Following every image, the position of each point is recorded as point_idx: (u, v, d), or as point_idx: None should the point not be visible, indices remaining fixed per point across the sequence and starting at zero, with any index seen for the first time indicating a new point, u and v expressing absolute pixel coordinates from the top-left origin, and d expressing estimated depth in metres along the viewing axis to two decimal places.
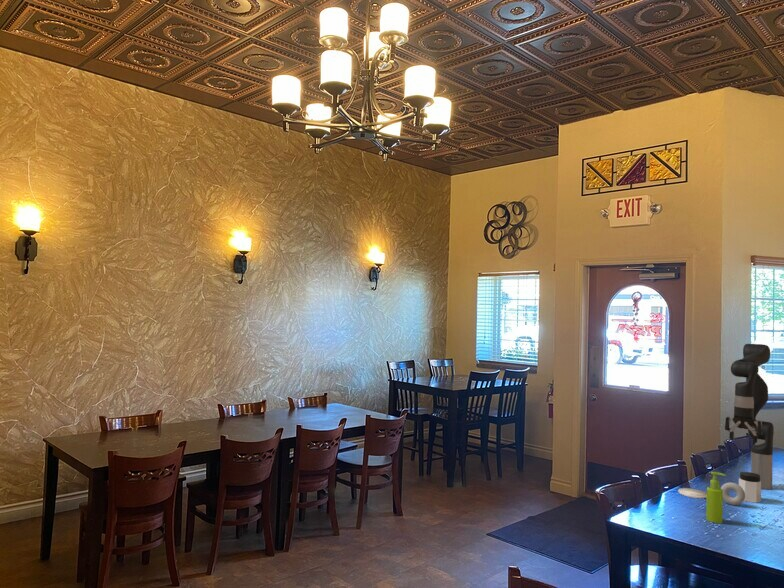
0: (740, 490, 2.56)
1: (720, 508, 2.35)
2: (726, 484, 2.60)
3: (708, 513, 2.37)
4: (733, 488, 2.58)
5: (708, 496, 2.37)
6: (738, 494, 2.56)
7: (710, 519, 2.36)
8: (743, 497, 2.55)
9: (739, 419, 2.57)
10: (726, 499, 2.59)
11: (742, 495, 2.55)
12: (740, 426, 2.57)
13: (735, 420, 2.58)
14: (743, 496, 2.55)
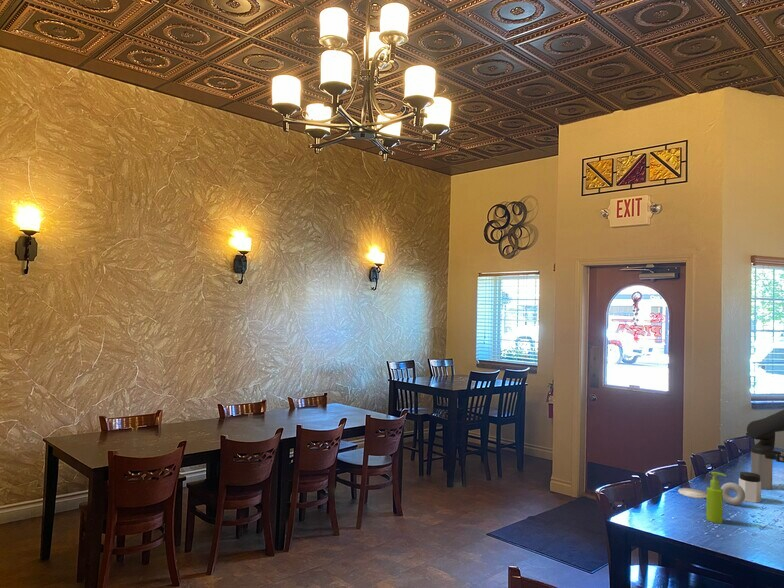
0: (740, 490, 2.56)
1: (720, 508, 2.35)
2: (726, 484, 2.60)
3: (708, 513, 2.37)
4: (733, 488, 2.58)
5: (708, 496, 2.37)
6: (738, 494, 2.56)
7: (710, 519, 2.36)
8: (743, 497, 2.55)
9: None
10: (726, 499, 2.59)
11: (742, 495, 2.55)
12: None
13: None
14: (743, 496, 2.55)
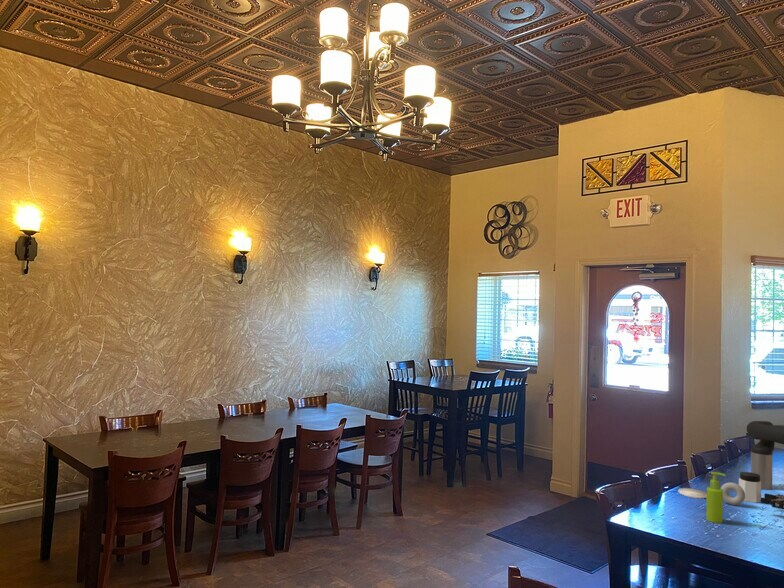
0: (740, 490, 2.56)
1: (720, 508, 2.35)
2: (726, 484, 2.60)
3: (708, 513, 2.37)
4: (733, 488, 2.58)
5: (708, 496, 2.37)
6: (738, 494, 2.56)
7: (710, 519, 2.36)
8: (743, 497, 2.55)
9: None
10: (726, 499, 2.59)
11: (742, 495, 2.55)
12: None
13: None
14: (743, 496, 2.55)
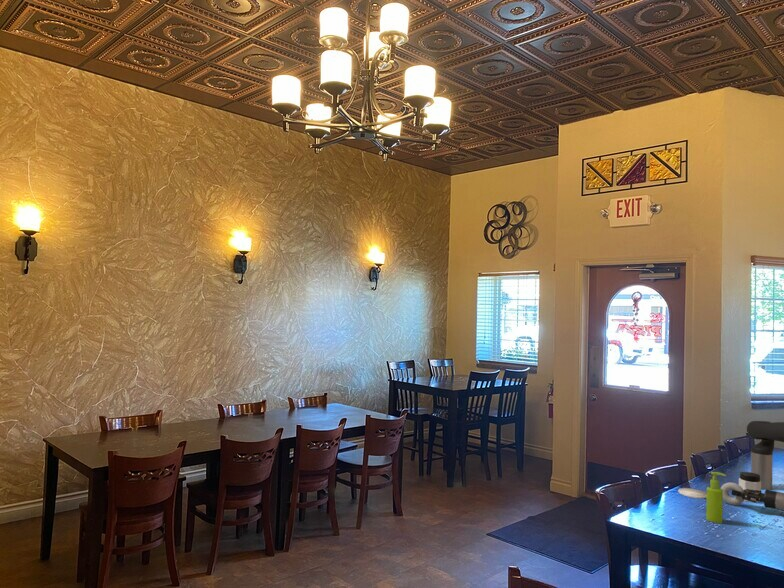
0: (740, 490, 2.56)
1: (720, 508, 2.35)
2: (726, 484, 2.60)
3: (708, 513, 2.37)
4: (733, 488, 2.58)
5: (708, 496, 2.37)
6: None
7: (710, 519, 2.36)
8: None
9: None
10: (726, 499, 2.59)
11: None
12: None
13: None
14: None
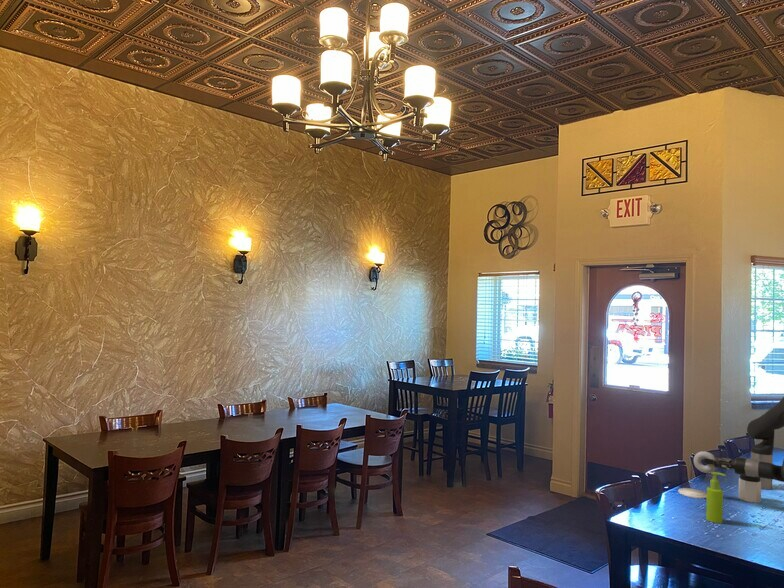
0: (712, 458, 2.66)
1: (720, 508, 2.35)
2: (699, 453, 2.70)
3: (708, 513, 2.37)
4: (705, 456, 2.68)
5: (708, 496, 2.37)
6: None
7: (710, 519, 2.36)
8: None
9: None
10: (699, 467, 2.69)
11: None
12: None
13: None
14: None
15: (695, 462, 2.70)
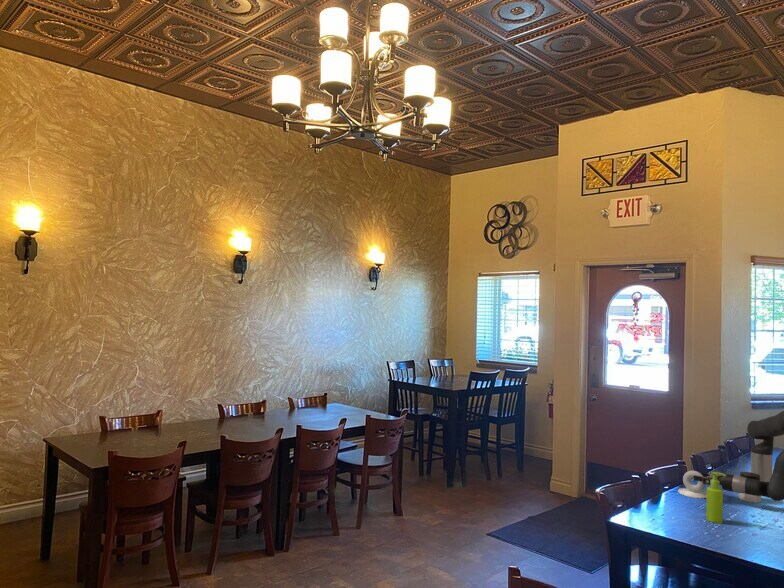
0: None
1: (720, 508, 2.35)
2: (688, 472, 2.74)
3: (708, 513, 2.37)
4: None
5: (708, 496, 2.37)
6: (699, 482, 2.70)
7: (710, 519, 2.36)
8: (703, 484, 2.69)
9: None
10: (688, 486, 2.73)
11: None
12: None
13: None
14: None
15: (684, 481, 2.74)
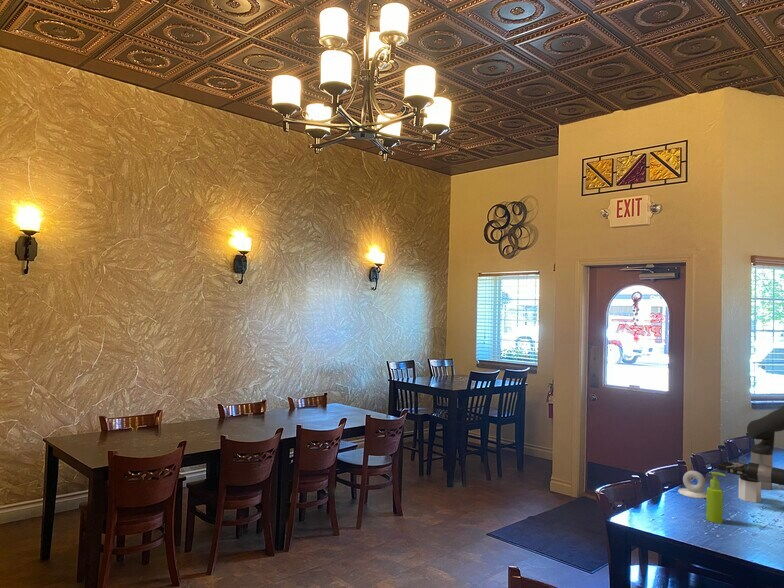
0: (701, 477, 2.70)
1: (720, 508, 2.35)
2: (688, 472, 2.74)
3: (708, 513, 2.37)
4: (694, 476, 2.71)
5: (708, 496, 2.37)
6: (699, 481, 2.70)
7: (710, 519, 2.36)
8: (703, 484, 2.69)
9: None
10: (688, 486, 2.73)
11: (703, 482, 2.69)
12: None
13: None
14: (703, 483, 2.69)
15: (684, 481, 2.74)
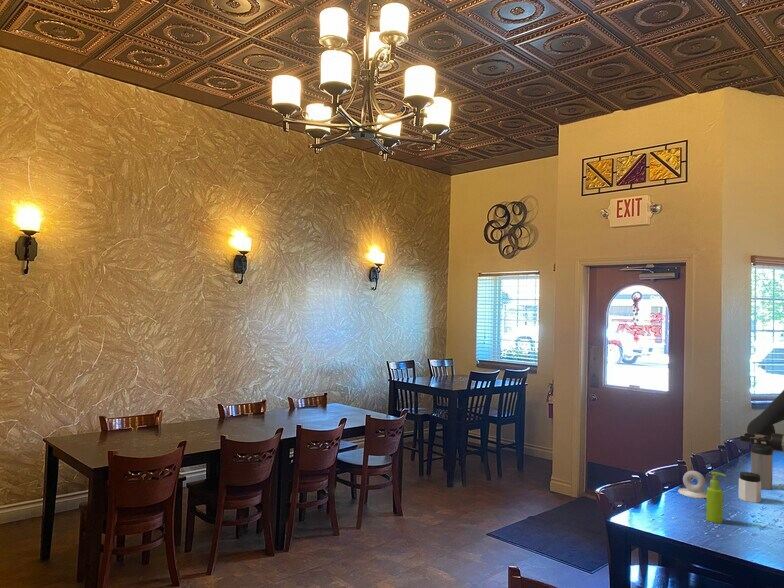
0: (701, 477, 2.70)
1: (720, 508, 2.35)
2: (688, 472, 2.74)
3: (708, 513, 2.37)
4: (694, 476, 2.71)
5: (708, 496, 2.37)
6: (699, 481, 2.70)
7: (710, 519, 2.36)
8: (703, 484, 2.69)
9: None
10: (688, 486, 2.73)
11: (703, 482, 2.69)
12: None
13: None
14: (703, 483, 2.69)
15: (684, 481, 2.74)
